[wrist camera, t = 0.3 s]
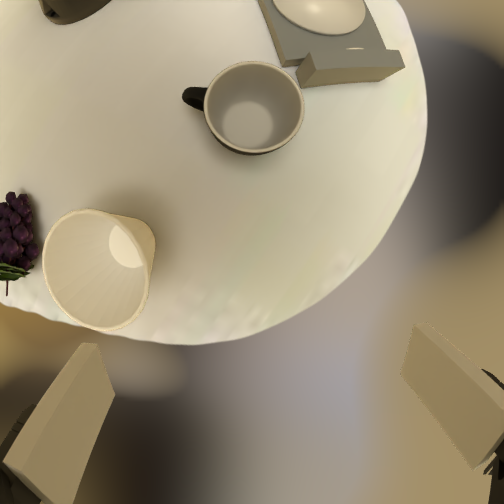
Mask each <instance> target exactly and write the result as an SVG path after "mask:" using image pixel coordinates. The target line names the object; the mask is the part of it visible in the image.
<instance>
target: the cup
mask: <svg viewBox="0 0 504 504" xmlns="http://www.w3.org/2000/svg"><path fill="white" fill-rule="evenodd" d="M155 247H156V244H155V238H154V235H153V232H152V231H151V229H150V228H149V226H148V225H147V224H145V223H144V222H143V221H141V220H139V219H136V218H131V217H126V216H120V215H115V214H110V213H106V212H104V211H100V210H95V209H90V208H87V209H79V210H74V211H72V212H70V213H68V214H66V215H64V216H62V217H61V218H60V219H59V220H58V221H57V222H56V223H55V224H54V225H53V226H52V228H51V229H50V231H49V233H48V235H47V237H46V239H45V243H44V247H43V252H42V269H43V273H44V278H45V282H46V285H47V287H48V289H49V292H50V294H51V296H52V298H53V299H54V301H55V302H56V303H57V305H58V306H59V308H60V309H61V310H62V311H63V312H64V313H65V314H66V315H67V316H68V317H70V318H71V319H72V320H74V321H75V322H77V323H79V324H80V325H82V326H84V327H87V328H90V329H93V330H97V331H112V330H116V329H120V328H123V327H125V326H126V325H128V324H129V323H131V322H132V321H134V320H135V319H136V317H137V316H138V315H139V314H140V313H141V311H142V310H143V308H144V305H145V303H146V300H147V298H148V293H149V284H150V275H151V270H152V264H153V259H154V253H155Z"/></svg>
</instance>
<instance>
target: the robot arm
mask: <svg viewBox="0 0 504 504" xmlns="http://www.w3.org/2000/svg"><path fill="white" fill-rule="evenodd" d="M109 1H110V0H39V3H40V5H41V8H42V11H43V13H44V15H45V16H46V17H47V18H48V19H49V20H51V21H52V22H53V23H56V24H69V23H73V22H76V21H79V20H81V19H83V18H85V17H87V16H89V15H91V14H93V13H94V12H96V11H97V10H99V9H100V8H102V7H103V6H104V5H106V4H107V3H108V2H109ZM400 375H401V376H402V377H403V379H404V380H405V381H406V382H407V384H408V385H409V386H410V387H411V389H412V390H413V391H414V392H415V394H416V395H417V396H418V398H419V399H420V400H421V401H422V403H423V404H424V405H425V407H426V408H427V409H428V411H429V412H430V413H431V415H432V416H433V417H434V419H435V420H436V421H437V423H438V424H439V425H440V427H441V428H442V429H443V431H444V432H445V433H446V435H447V436H448V437H449V439H450V440H451V441H452V443H453V444H454V446H455V447H456V448H457V450H458V451H459V453H460V454H461V455H462V457H463V458H464V460H465V461H466V462H467V464H468V465H469V467H470V468H471V470H472V471H474V470H475V469H477V468H478V467H479V466H481V465H482V464H484V463H485V462H486V461H487V460H488V459H489V458H490V456H491V455H492V454H493V453H494V452H495V453H496V455H497V456H496V457H495V458H494V459H493V461H492V462H491V463H490V464H489V465H488V466H487V468H486V469H485V470H484V473H483V474H486V473H487V472H488V471H489V470H490V468H492V466H493V469H492V470H491V471H490V473H489V475H492V481H491V489H490V496H489V502H488V504H504V384H503V383H502V382H501V383H500V381H499V380H498V379H497V378H496V377H495V376H494V375H493V374H491V373H490V372H488V371H485V370H484V369H480V368H479V367H478V366H477V365H476V364H475V363H474V362H472V361H471V360H470V359H469V358H468V357H467V356H466V355H465V354H463V353H462V352H461V351H460V350H459V349H458V348H457V347H455V346H454V345H453V344H452V343H451V342H450V341H448V340H447V339H446V338H445V337H444V336H443V335H441V334H440V333H439V332H438V331H437V330H435V329H434V328H433V327H432V326H431V325H430V324H428V323H427V322H424V323H419V324H414V325H413V329H412V333H411V337H410V341H409V345H408V349H407V352H406V356H405V359H404V363H403V366H402V370H401V373H400ZM114 396H115V393H114V391H113V388H112V386H111V383H110V380H109V377H108V374H107V371H106V369H105V366H104V363H103V360H102V357H101V353H100V350H99V347H98V344H91V343H82V344H81V345H80V346H79V348H78V349H77V350H76V352H75V353H74V354H73V356H72V357H71V358H70V359H69V361H68V362H67V364H66V365H65V366H64V368H63V369H62V370H61V372H60V373H59V375H58V376H57V377H56V379H55V380H54V382H53V383H52V384H51V386H50V387H49V389H48V390H47V392H46V393H45V394H44V396H43V397H42V399H41V401H40V402H39V403H38V405H34V404H32V405H31V406H29V407H28V408H27V409H25V410H24V411H23V412H22V413H21V415H20V416H19V418H18V419H17V423H15V424H14V425H13V427H12V431H10V432H9V433H8V435H7V437H6V438H5V440H4V441H3V443H2V444H1V446H0V504H40V502H41V501H42V502H43V503H45V504H73V501H74V498H75V495H76V492H77V489H78V486H79V483H80V480H81V477H82V475H83V472H84V469H85V467H86V464H87V461H88V459H89V456H90V454H91V451H92V448H93V446H94V443H95V441H96V438H97V436H98V433H99V431H100V428H101V426H102V424H103V421H104V419H105V417H106V414H107V412H108V409H109V407H110V405H111V402H112V400H113V398H114Z"/></svg>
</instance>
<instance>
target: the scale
mask: <svg viewBox="0 0 504 504" xmlns="http://www.w3.org/2000/svg"><path fill="white" fill-rule="evenodd" d="M258 2H259V5H260V7H261V10H262V12H263V15H264V18H265V20H266V23H267V26H268V28H269V31H270V34H271V36H272V39H273V42H274V45H275V48H276V51H277V53H278V56H279V59H280V62H281V65H282V67H288V66H296V65H300V66H299V68H298V69H297V71H296V72H295V73H296V76H297V79H298V82H299V85H300V88H308V87H315V86H324V85H333V84H345V83H358V82H379V81H381V80H383V79H385V78H387V77H388V76H390V75H392V74H394V73H396V72H398V71H399V70H401V69H403V68H405V65H404V62H403V60H402V57H401V54H400V52H399V50H386V47H385V45H384V42H383V40H382V38H381V35H380V33H379V31H378V29H377V26H376V24H375V22H374V20H373V18H372V16H371V13H370V11H369V9H368V7H367V5H366V3H365V1H364V0H258Z"/></svg>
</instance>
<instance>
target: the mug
mask: <svg viewBox="0 0 504 504" xmlns="http://www.w3.org/2000/svg"><path fill="white" fill-rule="evenodd" d="M182 99H183V101H184V102H185V103H187V104H188V105H190V106H192V107H194V108H196V109H198V110H201V111H203V112H204V115H205V119H206V123H207V125H208V127H209V129H210V131H211V133H212V134H213V135H214V137H215V138H216V139H217V140H218V141H219V142H220V143H221V144H222V145H223V146H224V147H226V148H227V149H229V150H231V151H233V152H235V153H238V154H242V155H261V154H266V153H269V152H272V151H274V150H276V149H278V148H280V147H282V146H283V145H285V144H286V143H287V142H289V141H290V140H291V139H292V138H293V137H294V136H295V134H296V133H297V131H298V130H299V128H300V126H301V124H302V121H303V117H304V100H303V96H302V93H301V91H300V88H299V87H298V85H297V83H296V82H295V81H294V80H293V78H292V77H291V76H290V75H289V74H287V73H286V72H285V71H283V70H282V69H280V68H278V67H276V66H274V65H272V64H268V63H264V62H258V61H248V62H242V63H238V64H235V65H232V66H230V67H228V68H226V69H224V70H223V71H222V72H220V73H219V74H218V75H217V76H216V77H215V78H214V79H213V81H212V82H211V83H210V85H209V87H208V88H202V87H189V88H187V89H185V90H184V92H183V94H182Z"/></svg>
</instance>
